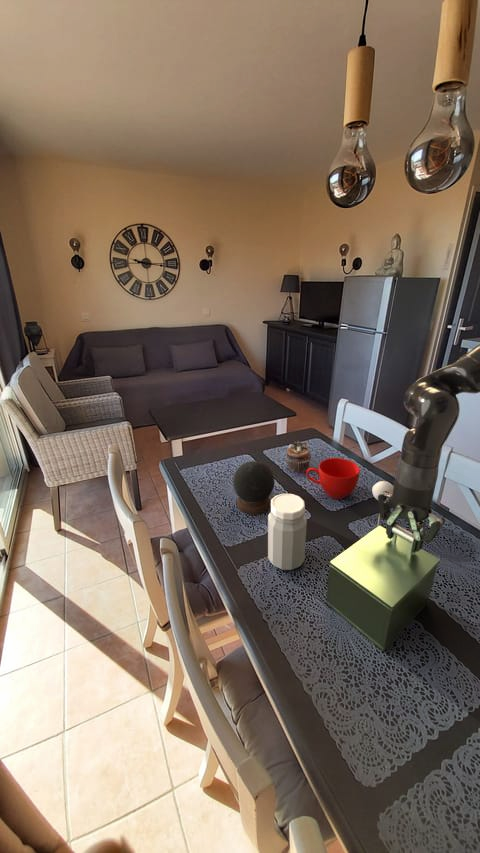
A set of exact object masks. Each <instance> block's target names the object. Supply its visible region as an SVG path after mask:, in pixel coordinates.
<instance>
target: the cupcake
mask: <svg viewBox="0 0 480 853" xmlns="http://www.w3.org/2000/svg"><path fill="white" fill-rule="evenodd" d="M285 459H286V465H287V468H288V469H289V471H292V472H294V473H303V472H307V470H308V469H309V468H310V463H311V460H312V455H311V453H310V449H309V444H307V443H306V442H300V441H299V440H295V441H294V442H292V443H291V444H289V445H288V448H286V452H285Z"/></svg>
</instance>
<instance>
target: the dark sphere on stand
mask: <svg viewBox="0 0 480 853" xmlns="http://www.w3.org/2000/svg"><path fill="white" fill-rule="evenodd" d="M232 486H233V490H234V492H235V494H236V495H237V499H236V508H237V509H238V510H239V511H240V512H242V513H244V514H247V515H260V514H264V513H266V512H268V511H269V510H270V509H271V500H272V499H271V498H270V496H271V495H272V493H273V490H274V487H275V477H274V474H273V472H272V470H271V469H270V467H269V466H267V464H265V463H263V462H261V461H256V460H250V461H247V462H244V463H242V464H240V465H239V467H238V468H237V469H236V470H235V472H234V475H233V478H232Z"/></svg>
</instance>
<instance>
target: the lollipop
mask: <svg viewBox="0 0 480 853" xmlns="http://www.w3.org/2000/svg"><path fill="white" fill-rule="evenodd" d="M393 488H394V485H392V484H391V483H390V482H389V481H386V480H381V481H377V482H376V483H375V484H374V485H373V486H372V489H371V491H372V495H373V497H374V498H375V500H377V501H378V495H380V494H381V493H382V492H384V491H387V492H388V493H389V494H392V495H393ZM380 522H381V518H380V514H379V513H378V519H377V527H378V526H379V525H380Z"/></svg>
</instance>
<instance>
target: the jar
mask: <svg viewBox="0 0 480 853" xmlns="http://www.w3.org/2000/svg"><path fill="white" fill-rule="evenodd" d="M270 500H271V507H270V512H269V514H268V516H267V559H268V561H270V563H271V564H272V565H273V566H274V567H275V568H278V569H280V570H281V571H292V570H295V569H298V568H300V567H301V566H302V564H303V563H304V561H305V559H306V542H307V524H308V522H307V521H308V520H307V515H306V513H305V508H306V506H305V505H306V504H305V500H304V499H303V498H301V496H300V495H296V494H293V493H280V494H277V495H275V496H274V497H273V498H272V499H270Z"/></svg>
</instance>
